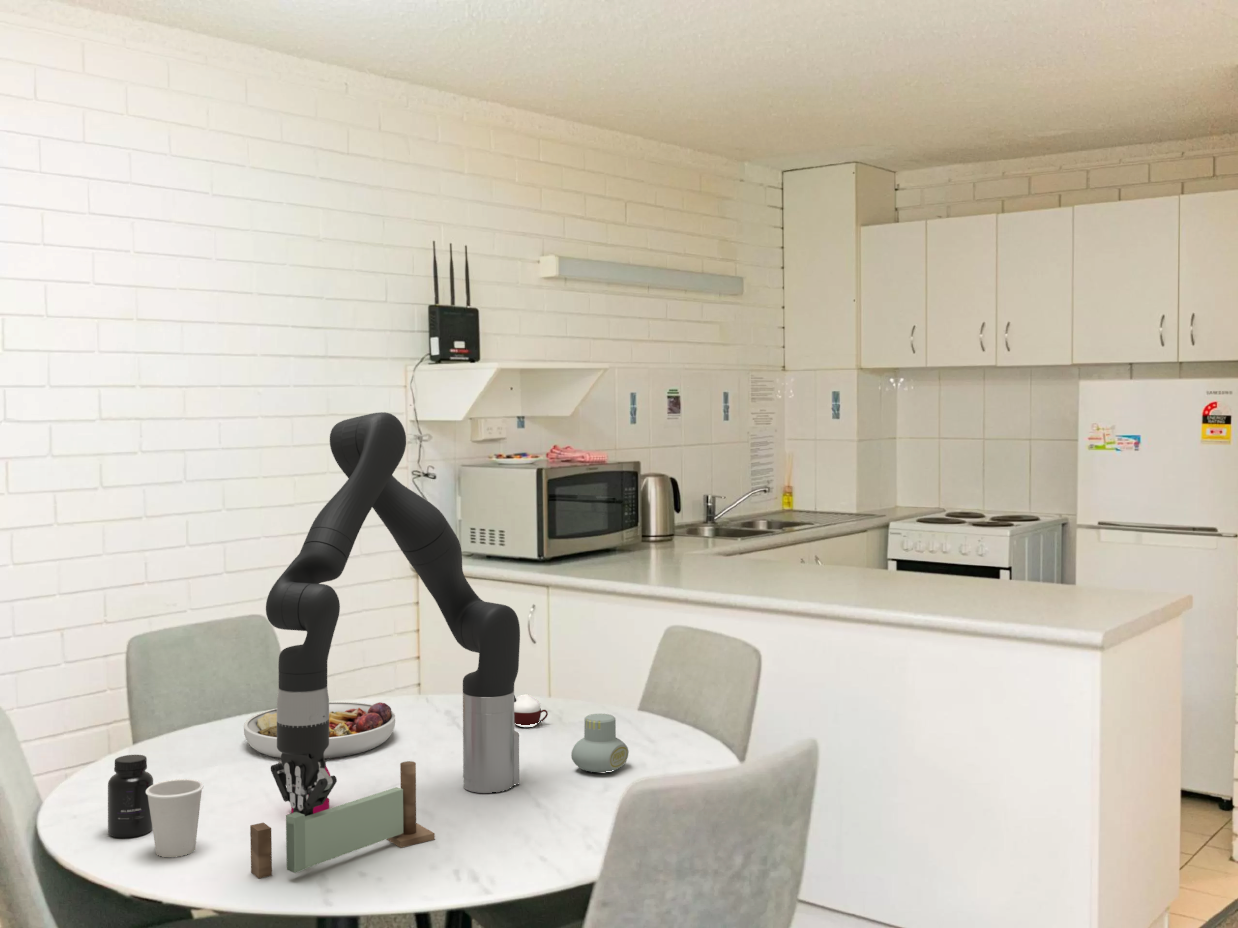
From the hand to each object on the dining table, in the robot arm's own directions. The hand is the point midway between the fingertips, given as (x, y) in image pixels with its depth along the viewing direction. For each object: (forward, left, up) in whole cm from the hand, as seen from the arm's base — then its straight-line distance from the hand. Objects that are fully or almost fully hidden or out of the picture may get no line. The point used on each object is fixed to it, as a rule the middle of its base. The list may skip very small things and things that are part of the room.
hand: (303, 832), depth 180 cm
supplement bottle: (+16, -31, -5) cm, 35 cm away
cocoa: (-70, -47, -5) cm, 85 cm away
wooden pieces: (-7, -1, -5) cm, 9 cm away
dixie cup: (+13, -18, -5) cm, 23 cm away
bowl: (-30, -62, -6) cm, 69 cm away
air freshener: (-64, -12, -5) cm, 65 cm away
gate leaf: (-6, +2, -4) cm, 8 cm away
